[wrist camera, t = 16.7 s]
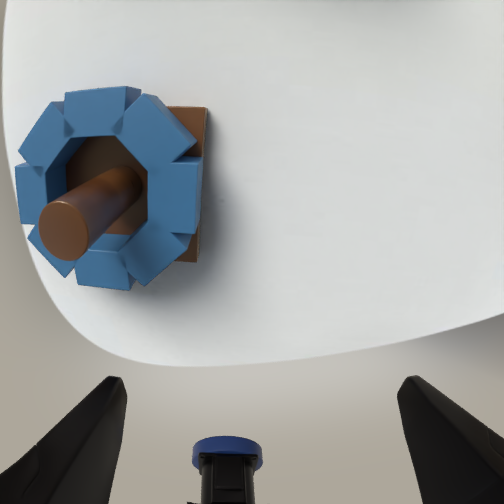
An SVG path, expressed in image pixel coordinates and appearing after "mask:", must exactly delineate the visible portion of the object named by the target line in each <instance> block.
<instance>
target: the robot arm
mask: <svg viewBox="0 0 504 504" xmlns="http://www.w3.org/2000/svg"><path fill="white" fill-rule="evenodd" d="M397 400H398V405H399V409H400V414H401V419H402V425H403V430H404V434H405V438H406V441H407V445H408V448H409V452H410V455H411V459H412V463H413V466H414V470H415V474H416V477H417V481H418V485H419V489H420V493H421V498H422V502H423V504H504V438H502V437H501V436H499V435H498V434H497V433H495V432H494V431H493V430H491V429H490V428H488V427H487V426H485V425H484V424H483V423H482V422H480V421H479V420H477V419H476V418H475V417H474V416H472V415H471V414H470V413H468V412H467V411H465V410H464V409H463V408H461V407H460V406H459V405H457V404H456V403H454V402H453V401H452V400H451V399H449V398H448V397H447V396H445V395H444V394H442V393H441V392H440V391H439V390H437V389H436V388H435V387H433V386H432V385H430V384H429V383H428V382H426V381H425V380H424V379H422V378H421V377H420V376H417V375H415V376H410V377H407V378H406V379H405V381H404V382H403V384H402V386H401V388H400V389H399V391H398V394H397ZM126 404H127V393H126V390H125V387H124V383H123V381H122V379H121V378H120V377H115V376H108V377H106V378H105V379H104V380H103V381H102V382H101V383H100V384H99V385H98V386H97V387H96V388H95V389H94V390H93V391H91V392H90V393H89V394H88V395H87V396H86V397H85V398H84V399H83V400H82V401H81V402H80V403H79V404H78V405H77V406H75V407H74V408H73V409H72V410H71V411H70V412H69V413H68V414H67V415H66V416H65V417H64V418H63V419H62V420H61V421H60V422H59V423H58V424H57V425H55V426H54V427H53V428H52V429H51V430H50V431H49V432H48V433H47V434H46V435H45V436H44V437H43V438H42V439H41V440H40V441H39V442H38V443H37V444H36V445H37V446H36V445H34V446H33V447H32V448H31V449H30V450H29V451H28V452H27V453H26V454H25V455H24V456H23V457H22V458H20V459H19V460H18V461H17V462H16V463H14V464H13V465H12V466H10V467H9V468H8V469H7V470H5V471H4V472H3V473H1V474H0V504H108V503H109V497H110V492H111V488H112V483H113V478H114V474H115V469H116V465H117V461H118V456H119V452H120V447H121V443H122V436H123V428H124V420H125V412H126ZM258 459H259V456H258V455H257V454H224V453H206V452H200V453H198V463H199V473H200V475H202V487H201V488H202V489H201V504H255V497H254V482H253V475H254V472H255V469H256V466H257V463H258ZM187 504H194V503H192V502H187ZM195 504H196V503H195Z"/></svg>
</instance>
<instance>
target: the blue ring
mask: <svg viewBox="0 0 504 504" xmlns="http://www.w3.org/2000/svg"><path fill="white" fill-rule="evenodd" d="M95 136H116V137H117V139H118V140H119V141H120V142H121V143H122V144H123V145H124V146H125V147H126V148H127V150H128V151H129V152H130V153H131V154H132V155H133V156H134V157H135V158H136V159H137V160H138V162H139V163H140V164H141V165H142V166H143V167H144V168H145V169H146V170H147V171H148V218H147V219H146V220H145V221H144V222H143V223H142V224H141V225H140V226H139V227H138V228H137V229H136V230H135V231H134V232H133V233H132V234H131V235H120V234H103V235H102V236H101V237H100V238H99V239H98V240H97V241H96V242H95V243H94V244H93V245H92V246H91V247H90V248H89V249H88V251H87V252H86V253H85V254H84V255H83V256H82V257H80V258H79V259H77V260H74V261H64V260H60V259H58V258H56V257H55V256H53V255H52V254H51V253H50V252H49V251H48V250H47V249H46V248H45V246H44V245H43V243H42V241H41V238H40V235H39V230H38V221H39V216H40V214H41V212H42V210H43V208H44V207H45V206H46V205H47V204H49V203H50V202H52V201H54V200H55V199H57V198H59V197H60V196H62V195H64V194H66V193H67V184H66V164H67V162H68V161H69V160H70V159H71V157H72V156H73V155H74V153H75V152H76V151H77V150H78V148H79V147H80V146H81V145H82V143H83V142H84V141H85V140H86V139H87V137H95ZM196 142H197V140H196V138H195V137H194V136H193V135H192V134H191V133H190V132H189V131H188V130H187V129H186V127H185V126H184V125H183V124H182V123H181V122H180V121H179V120H178V119H177V118H176V116H175V115H174V114H173V113H172V112H171V111H170V110H169V109H168V108H167V107H166V106H165V105H164V104H163V102H162V101H161V100H160V99H159V98H158V97H157V96H154V95H149V94H145V93H143V94H142V95H141V89H136V88H132V87H128V86H120V87H108V88H97V89H88V90H80V91H72V92H66V93H65V100H64V101H61V102H51V103H50V104H49V105H48V107H47V108H46V109H45V111H44V112H43V114H42V115H41V116H40V118H39V119H38V121H37V122H36V124H35V125H34V127H33V128H32V130H31V131H30V133H29V134H28V136H27V137H26V139H25V140H24V142H23V144H22V145H21V147H20V148H19V150H18V152H19V153H20V154H21V155H22V157H23V158H24V159H25V160H26V162H25V163H23V164H20V165H17V166H15V178H16V189H17V199H18V207H19V214H20V221H21V224H34V225H35V226H34V228H33V229H32V231H31V232H30V234H29V236H28V240H29V241H30V242H31V243H32V244H33V245H34V246H35V247H36V249H37V250H38V251H39V252H40V253H41V254H42V255H43V256H44V257H45V258H46V259H47V260H48V261H49V263H50V264H51V265H52V266H53V267H54V268H55V269H56V270H57V271H58V272H59V273H60V274H61V275H62V276H63V277H64V278H66V277H67V275H68V274H69V273H70V272H71V271H72V270H73V268H74V267H75V273H76V278H77V283H78V285H84V286H92V287H101V288H110V289H119V290H128V291H129V290H130V289H131V287H132V286H133V284H134V282H135V280H137V281H138V282H139V283H140V284H142V285H143V286H146V285H147V284H148V283H149V282H150V281H151V280H152V279H154V278H155V277H156V276H157V275H158V274H159V273H160V272H162V271H163V270H164V269H165V268H166V267H167V266H169V265H170V264H171V263H172V262H173V261H174V260H176V259H177V258H178V257H179V256H180V255H182V254H183V253H184V252H185V251H186V250H187V248H188V245H189V242H190V239H191V236H192V234H195V232H196V229H197V226H198V223H199V220H200V209H201V190H202V173H203V157H192V156H182V155H183V154H184V153H185V152H186V151H187V150H189V149H190V148H191V147H192V146H193V145H194V144H195V143H196Z"/></svg>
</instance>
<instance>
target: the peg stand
mask: <svg viewBox="0 0 504 504" xmlns="http://www.w3.org/2000/svg"><path fill="white" fill-rule="evenodd" d="M166 107H167V108H168V109H169V110H170V111H171V112H172V113H173V114H174V115H175V116H176V118H177V119H178V120H179V121H180V122H181V123H182V124H183V125H184V126H185V127H186V129H187V130H188V131H189V132H190V133H191V134H192V135H193V136H194V137H195V138H196V140H197V142H196V143H195V144H194V145H193V146H192V147H191V148H190V149H189V150H187V151H186V152H185V153H184V154H183V155H182V156H192V157H203V160H204V146H205V134H206V122H207V110H208V109H207V108H205V107H180V106H166ZM202 176H203V173H202ZM66 184H67V193H66V194H64V195H62V196H60V197H59V198H57V199H55V200H54V201H52V202H50V203H49V204H47V205H46V206H45V207H44V208H43V210H42V212H41V214H40V216H39V221H38V230H39V235H40V238H41V241H42V243H43V245H44V246H45V248H46V249H47V250H48V251H49V252H50V253H51V254H52V255H53V256H55V257H56V258H58V259H60V260H64V261H74V260H77V259H79V258H80V257H82V256H83V255H84V254H85V253H86V252H87V251H88V249H89V248H90V247H91V246H92V245H93V244H94V243H95V242H96V241H97V240H98V239H99V238H100V237H101V236H102V235H103V234H120V235H131V234H132V233H133V232H134V231H135V230H136V229H137V228H138V227H139V226H140V225H141V224H142V223H143V222H144V221H145V220H146V219H147V218H148V171H147V170H146V169H145V168H144V167H143V166H142V165H141V164H140V163H139V162H138V160H137V159H136V158H135V157H134V156H133V155H132V154H131V153H130V152H129V151H128V150H127V148H126V147H125V146H124V145H123V144H122V143H121V142H120V141H119V140H118V139H117V137H116V136H95V137H87V139H86V140H85V141H84V142H83V143H82V145H81V146H80V147H79V148H78V150H77V151H76V152H75V153H74V155H73V156H72V157H71V159H70V160H69V161H68V162H67V164H66ZM201 193H202V190H201ZM200 213H201V209H200ZM199 238H200V220H199V223H198V226H197V229H196V232H195V234H192V236H191V239H190V242H189V245H188V248H187V250H186V251H185V252H184V253H183V254H182V255H180V256H179V257H178V258H177V259H176V260H174V261H182V262H197V260H198V256H199Z"/></svg>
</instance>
